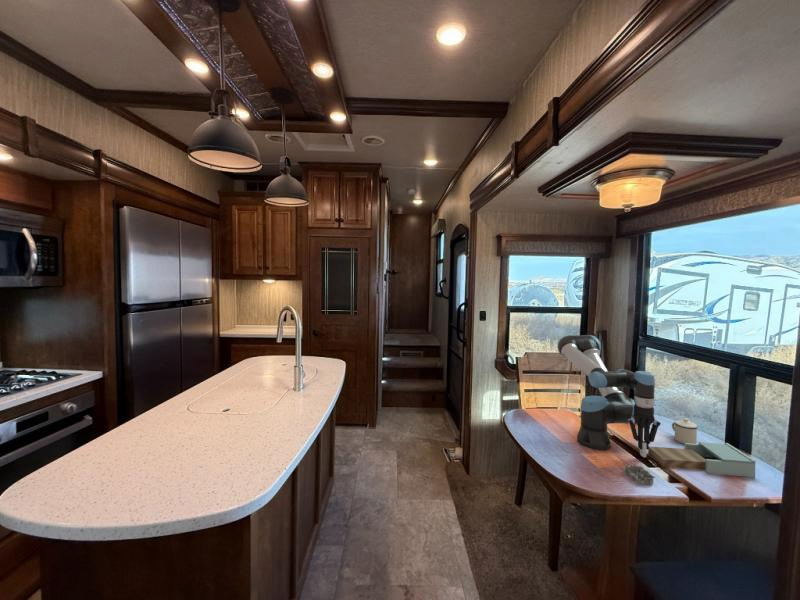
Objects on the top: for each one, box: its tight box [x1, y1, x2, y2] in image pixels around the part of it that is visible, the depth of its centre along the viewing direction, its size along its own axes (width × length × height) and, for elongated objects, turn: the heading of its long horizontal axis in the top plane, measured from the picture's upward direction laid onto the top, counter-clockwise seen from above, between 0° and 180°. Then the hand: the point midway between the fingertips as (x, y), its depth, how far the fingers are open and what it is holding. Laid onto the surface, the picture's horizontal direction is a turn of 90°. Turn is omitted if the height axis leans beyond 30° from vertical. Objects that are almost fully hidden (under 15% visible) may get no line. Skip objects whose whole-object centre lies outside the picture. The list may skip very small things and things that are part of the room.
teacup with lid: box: [671, 417, 699, 445], centre depth 175 cm, size 12×9×12 cm
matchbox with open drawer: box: [684, 441, 757, 478], centre depth 151 cm, size 17×16×7 cm
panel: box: [647, 446, 707, 471], centre depth 154 cm, size 18×12×4 cm, turn 80°
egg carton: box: [622, 462, 656, 486], centre depth 142 cm, size 11×8×4 cm
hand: (643, 455), depth 157 cm, fingers closed
